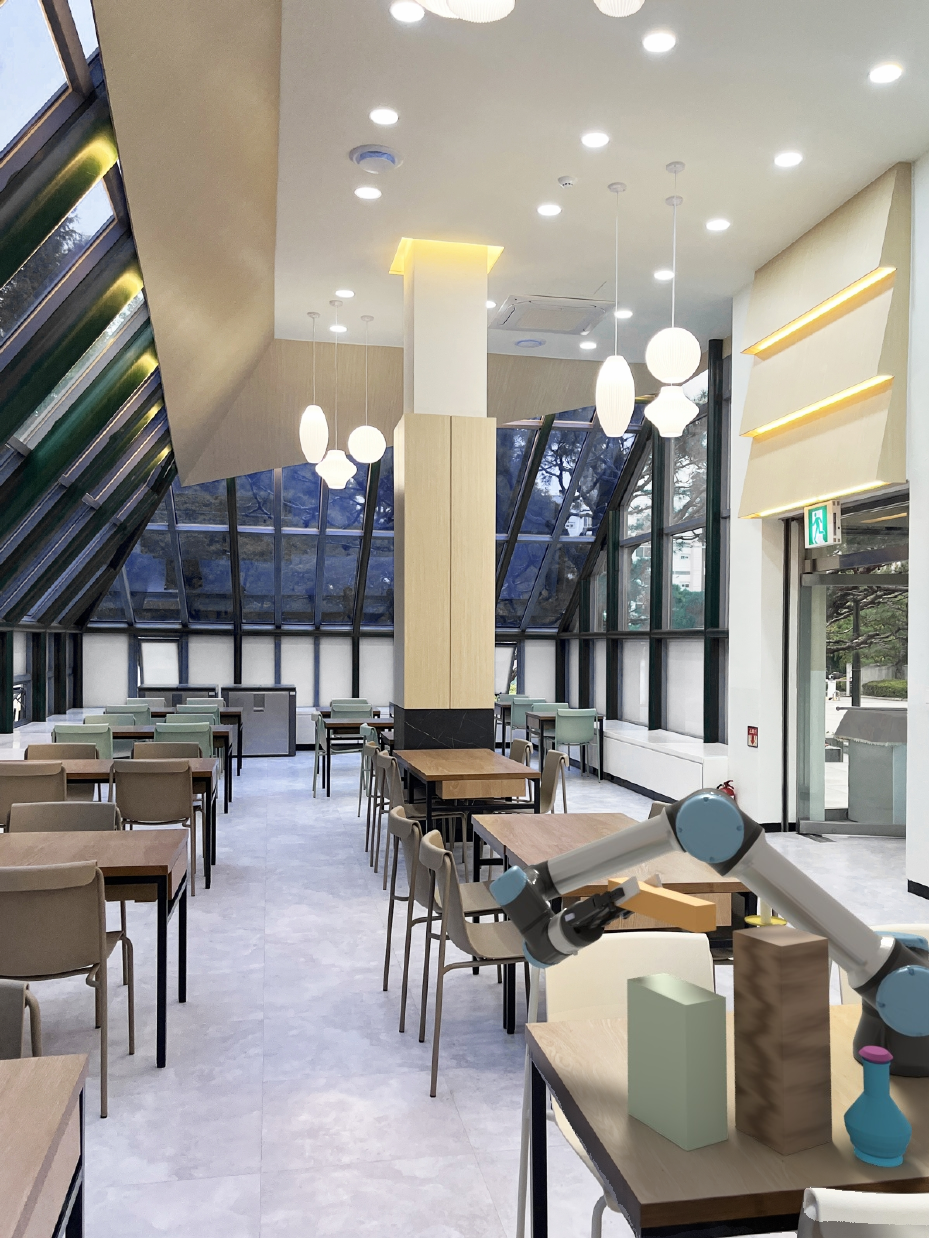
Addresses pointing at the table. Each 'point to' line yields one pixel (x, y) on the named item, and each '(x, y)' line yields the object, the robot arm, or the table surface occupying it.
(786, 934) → the post
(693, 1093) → the pale green rectangular block
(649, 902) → the bar
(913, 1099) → the table surface
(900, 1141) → the perfume bottle
